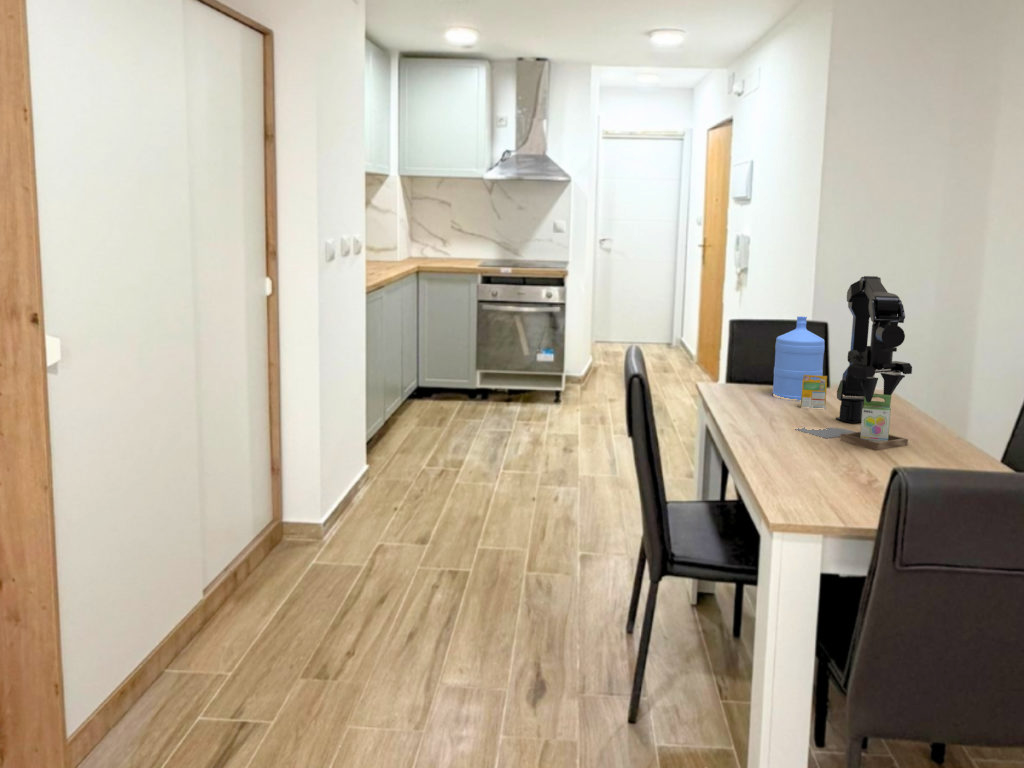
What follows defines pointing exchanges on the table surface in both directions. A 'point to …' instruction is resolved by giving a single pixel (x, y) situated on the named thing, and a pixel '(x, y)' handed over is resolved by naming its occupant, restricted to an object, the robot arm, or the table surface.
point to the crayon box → (814, 392)
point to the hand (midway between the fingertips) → (877, 401)
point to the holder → (891, 443)
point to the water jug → (797, 360)
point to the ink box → (876, 419)
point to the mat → (826, 432)
